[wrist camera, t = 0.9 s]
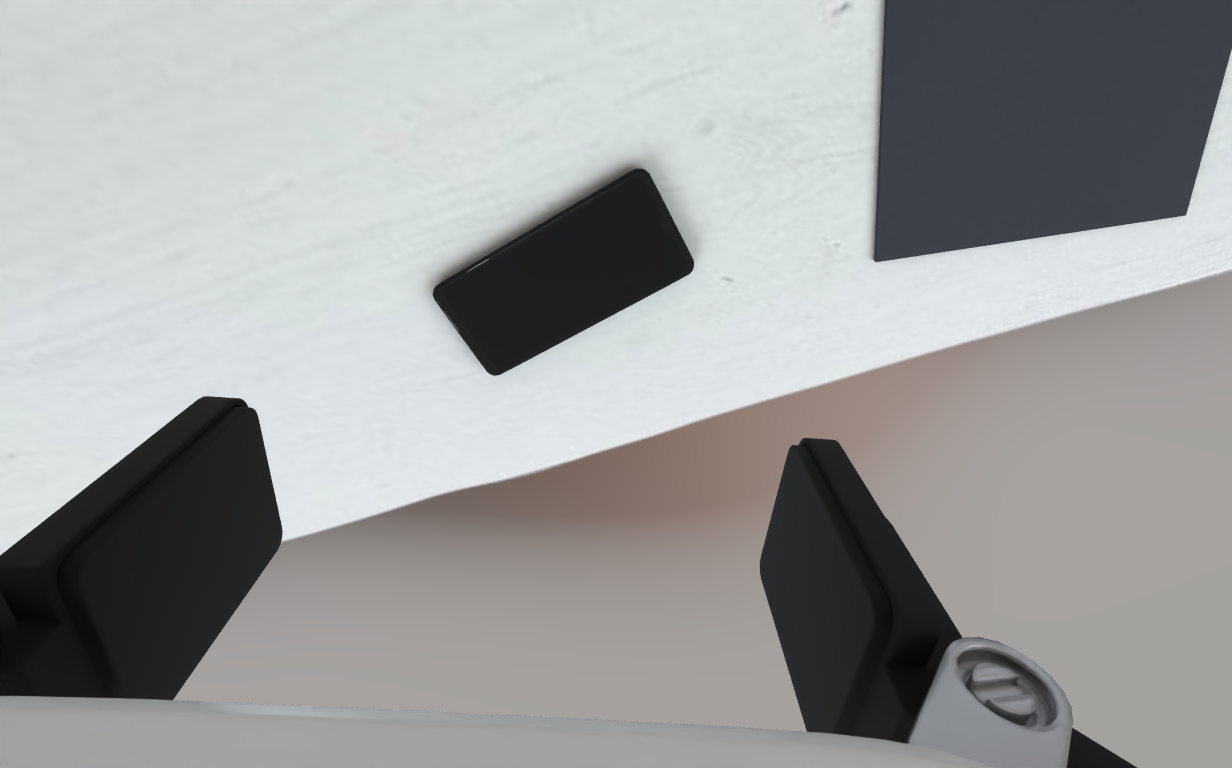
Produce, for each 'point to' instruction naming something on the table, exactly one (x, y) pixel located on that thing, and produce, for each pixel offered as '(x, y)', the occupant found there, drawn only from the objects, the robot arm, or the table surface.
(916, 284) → the table surface
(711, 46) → the table surface
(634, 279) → the smartphone
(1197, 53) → the mat
